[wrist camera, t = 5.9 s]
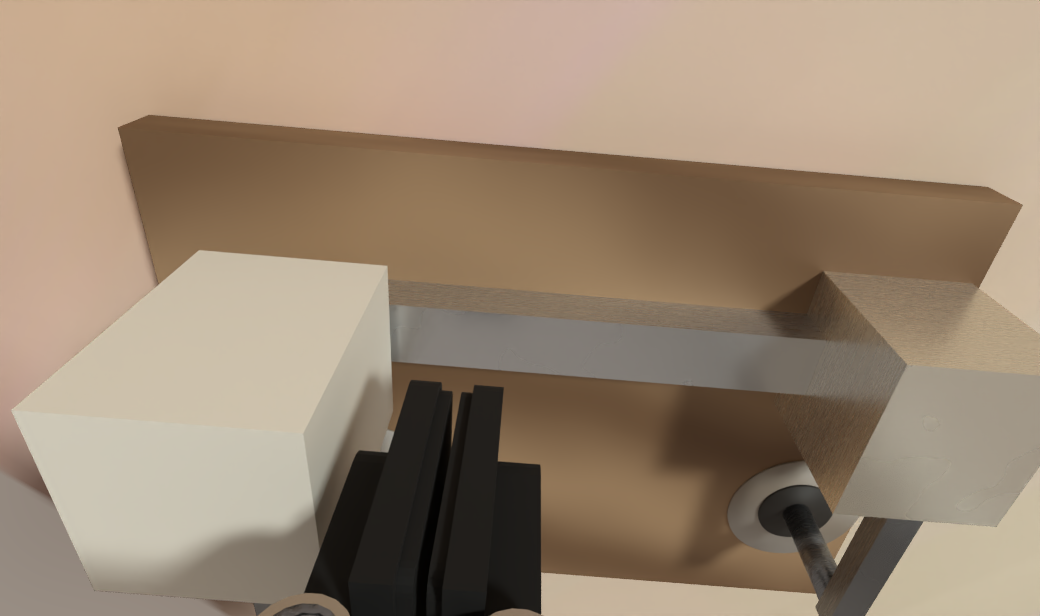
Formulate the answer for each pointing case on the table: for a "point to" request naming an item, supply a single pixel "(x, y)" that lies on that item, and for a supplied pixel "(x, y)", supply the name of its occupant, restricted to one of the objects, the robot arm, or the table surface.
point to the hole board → (590, 272)
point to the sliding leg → (217, 425)
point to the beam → (797, 391)
